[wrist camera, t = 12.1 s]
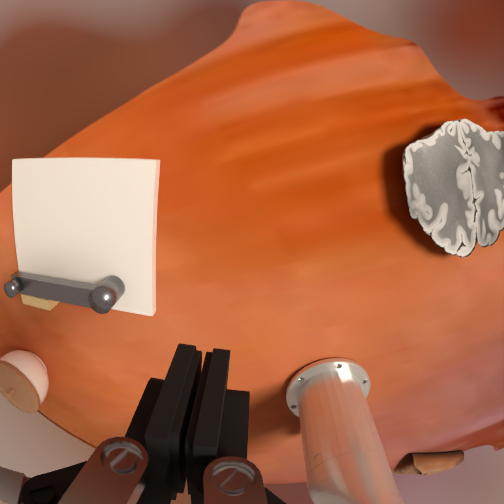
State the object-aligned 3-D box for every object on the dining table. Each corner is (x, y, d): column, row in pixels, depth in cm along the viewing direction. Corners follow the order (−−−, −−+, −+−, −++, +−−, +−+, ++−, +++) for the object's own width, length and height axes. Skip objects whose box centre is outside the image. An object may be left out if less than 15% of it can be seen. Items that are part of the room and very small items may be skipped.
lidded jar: (23, 380, 46) (-1, 408, 37) (6, 334, 43) (-23, 361, 34) (64, 393, 46) (42, 427, 37) (48, 346, 43) (19, 379, 34)
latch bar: (124, 276, 36) (103, 298, 31) (125, 298, 37) (106, 322, 32) (27, 262, 36) (1, 278, 31) (30, 282, 37) (6, 299, 32)
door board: (155, 310, 40) (141, 335, 34) (27, 285, 39) (4, 301, 34) (160, 159, 34) (141, 161, 28) (19, 158, 34) (-10, 162, 28)
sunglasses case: (388, 473, 52) (403, 485, 45) (399, 446, 53) (416, 456, 47) (441, 470, 53) (457, 478, 47) (451, 445, 55) (468, 452, 48)
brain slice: (407, 266, 37) (417, 274, 35) (382, 132, 33) (392, 131, 30) (511, 228, 35) (523, 233, 32) (496, 113, 30) (509, 112, 28)
